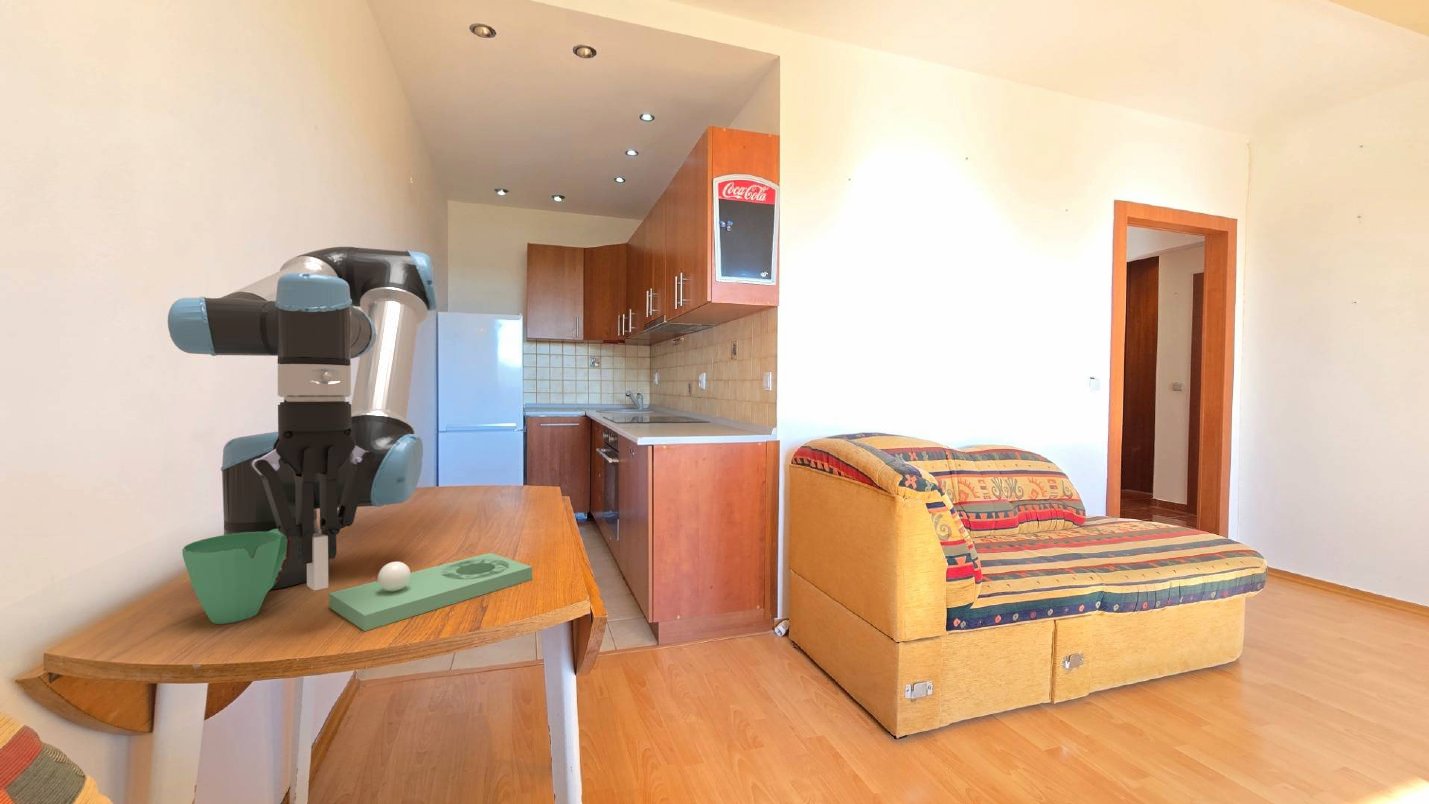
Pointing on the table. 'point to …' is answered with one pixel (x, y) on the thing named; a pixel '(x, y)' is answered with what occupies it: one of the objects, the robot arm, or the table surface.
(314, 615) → the table surface
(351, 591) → the green rectangular board
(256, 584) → the mug
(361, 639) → the table surface
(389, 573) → the ball
